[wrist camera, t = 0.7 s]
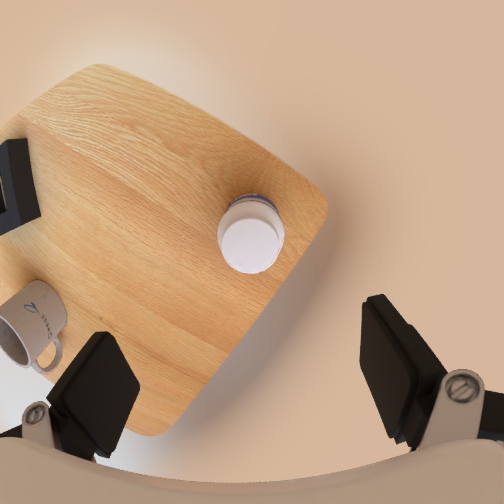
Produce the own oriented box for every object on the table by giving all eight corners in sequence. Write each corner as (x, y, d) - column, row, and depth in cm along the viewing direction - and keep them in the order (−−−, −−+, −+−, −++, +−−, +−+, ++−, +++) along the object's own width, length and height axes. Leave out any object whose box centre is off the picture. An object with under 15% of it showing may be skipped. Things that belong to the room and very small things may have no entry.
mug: (22, 278, 30) (-18, 308, 20) (57, 281, 30) (13, 318, 20) (46, 342, 34) (16, 378, 25) (81, 351, 34) (51, 393, 24)
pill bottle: (267, 251, 28) (272, 292, 19) (218, 234, 27) (201, 270, 19) (286, 202, 26) (300, 224, 18) (235, 184, 25) (224, 197, 17)
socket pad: (27, 138, 23) (6, 139, 19) (41, 216, 27) (21, 224, 23) (-10, 167, 24) (-28, 171, 20) (3, 233, 27) (-14, 242, 24)
